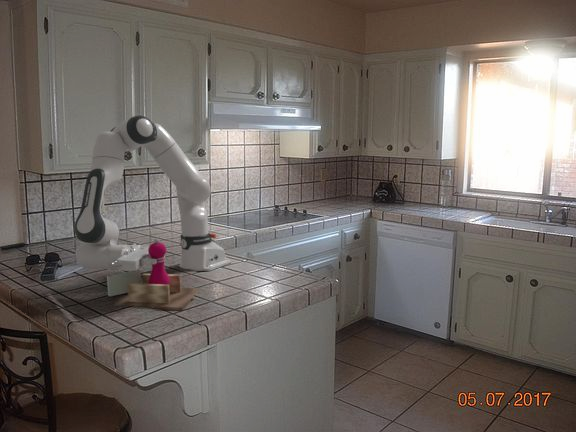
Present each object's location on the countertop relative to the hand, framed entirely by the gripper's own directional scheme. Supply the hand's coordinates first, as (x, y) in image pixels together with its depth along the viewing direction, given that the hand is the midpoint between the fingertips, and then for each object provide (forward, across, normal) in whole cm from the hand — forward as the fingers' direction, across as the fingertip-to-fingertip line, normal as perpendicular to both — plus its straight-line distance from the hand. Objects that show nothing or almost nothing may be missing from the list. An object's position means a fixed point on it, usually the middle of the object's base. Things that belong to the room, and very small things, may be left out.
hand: (160, 258), depth 181 cm
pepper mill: (-1, 0, +13) cm, 13 cm away
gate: (-14, +2, +13) cm, 20 cm away
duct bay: (-2, 0, +14) cm, 15 cm away
